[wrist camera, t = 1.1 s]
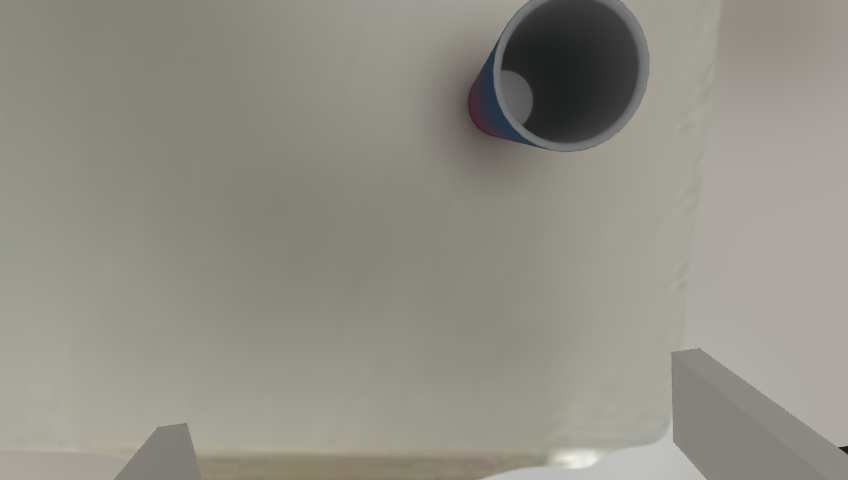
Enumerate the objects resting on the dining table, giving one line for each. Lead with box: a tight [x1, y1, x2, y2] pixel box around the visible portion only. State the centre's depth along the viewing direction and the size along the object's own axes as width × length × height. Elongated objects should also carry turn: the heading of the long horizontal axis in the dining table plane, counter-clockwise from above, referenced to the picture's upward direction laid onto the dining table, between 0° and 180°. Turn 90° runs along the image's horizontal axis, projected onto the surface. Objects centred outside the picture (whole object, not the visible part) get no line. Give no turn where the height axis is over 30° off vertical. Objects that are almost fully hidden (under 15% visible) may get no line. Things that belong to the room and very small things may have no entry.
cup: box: [468, 0, 649, 152], centre depth 28 cm, size 7×7×15 cm
